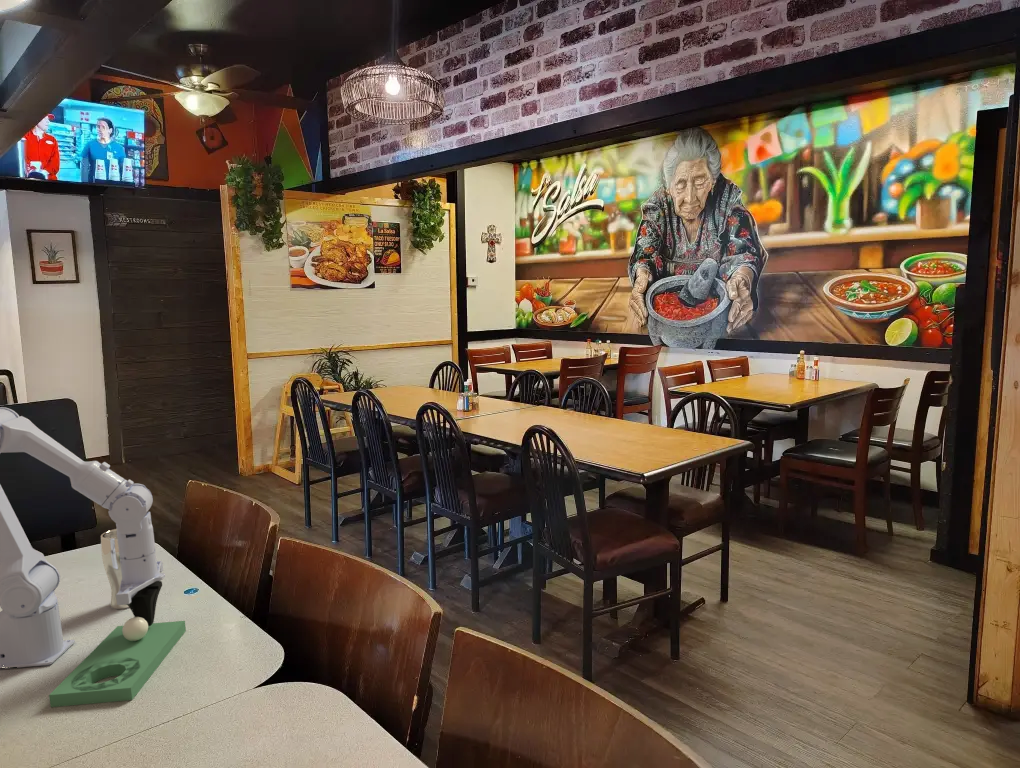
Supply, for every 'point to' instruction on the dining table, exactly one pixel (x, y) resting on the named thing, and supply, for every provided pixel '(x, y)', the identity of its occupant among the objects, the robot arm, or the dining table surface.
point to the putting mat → (118, 666)
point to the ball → (135, 628)
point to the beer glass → (112, 564)
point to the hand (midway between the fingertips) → (146, 624)
